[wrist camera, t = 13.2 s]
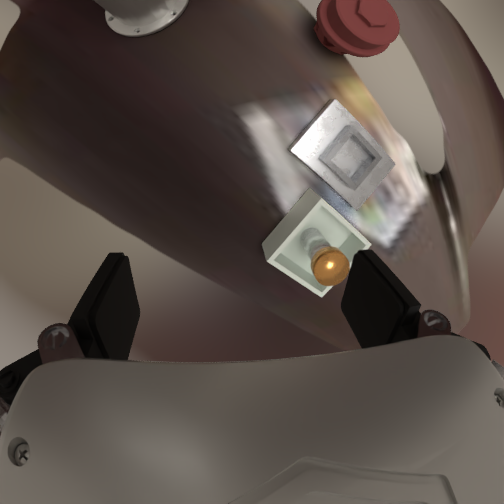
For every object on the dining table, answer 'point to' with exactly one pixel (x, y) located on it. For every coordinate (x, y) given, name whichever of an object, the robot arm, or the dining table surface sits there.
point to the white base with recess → (342, 154)
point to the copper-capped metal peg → (324, 258)
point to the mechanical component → (356, 26)
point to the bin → (292, 252)
